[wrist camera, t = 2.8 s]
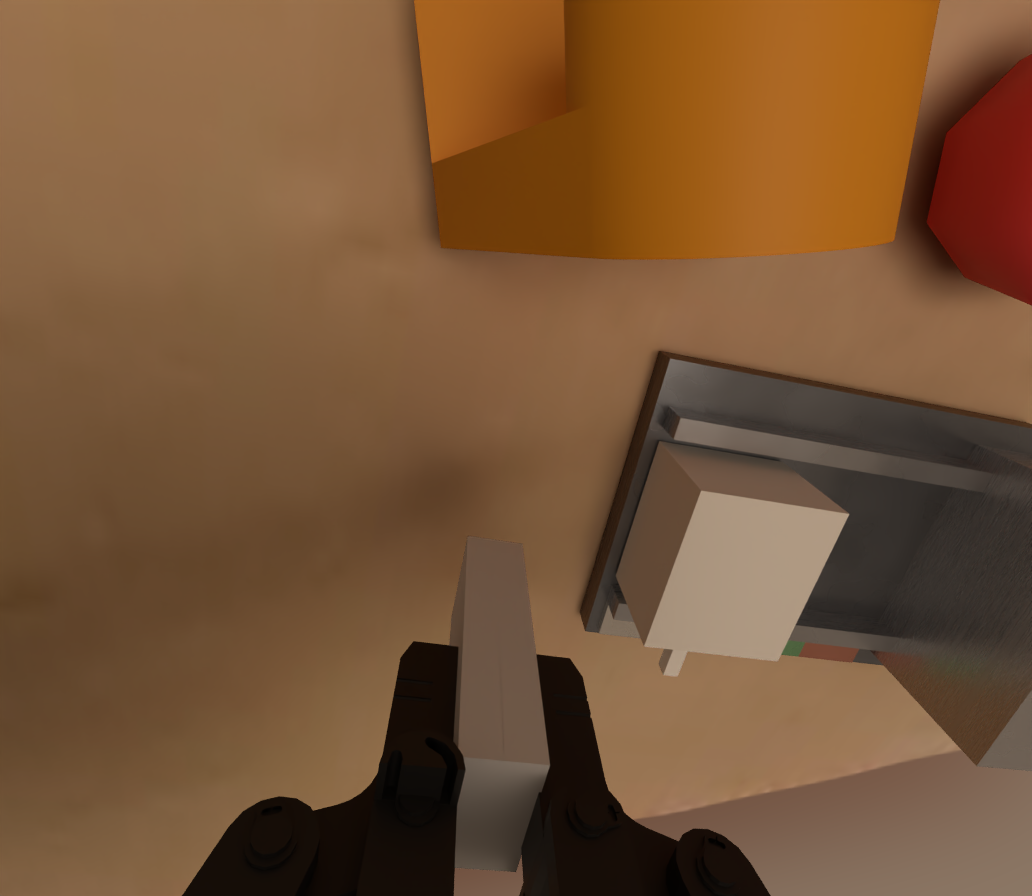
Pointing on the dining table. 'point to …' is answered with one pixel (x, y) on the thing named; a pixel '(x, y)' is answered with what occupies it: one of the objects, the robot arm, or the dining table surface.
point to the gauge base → (874, 535)
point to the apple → (990, 188)
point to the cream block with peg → (723, 554)
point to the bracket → (671, 123)
